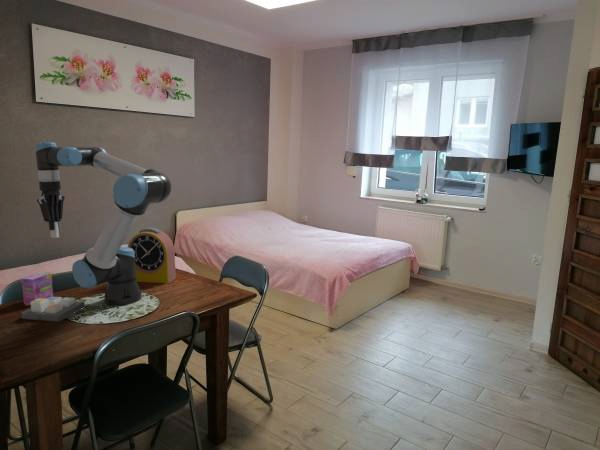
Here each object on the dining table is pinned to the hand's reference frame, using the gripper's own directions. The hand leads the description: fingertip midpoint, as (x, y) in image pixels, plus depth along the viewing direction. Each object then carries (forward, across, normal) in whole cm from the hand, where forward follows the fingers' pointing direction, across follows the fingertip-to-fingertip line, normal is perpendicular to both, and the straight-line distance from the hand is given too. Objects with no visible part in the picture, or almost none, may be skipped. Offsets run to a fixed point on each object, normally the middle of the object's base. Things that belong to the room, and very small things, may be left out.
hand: (55, 237), depth 179 cm
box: (+29, +1, -10) cm, 30 cm away
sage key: (+28, +8, +9) cm, 30 cm away
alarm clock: (+29, -37, +22) cm, 52 cm away
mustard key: (+26, +15, +3) cm, 30 cm away
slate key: (+28, +8, +3) cm, 29 cm away
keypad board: (+28, +12, +6) cm, 31 cm away
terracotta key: (+28, +15, +9) cm, 33 cm away
